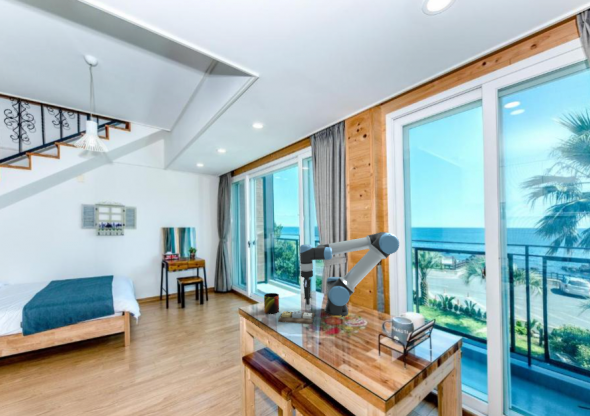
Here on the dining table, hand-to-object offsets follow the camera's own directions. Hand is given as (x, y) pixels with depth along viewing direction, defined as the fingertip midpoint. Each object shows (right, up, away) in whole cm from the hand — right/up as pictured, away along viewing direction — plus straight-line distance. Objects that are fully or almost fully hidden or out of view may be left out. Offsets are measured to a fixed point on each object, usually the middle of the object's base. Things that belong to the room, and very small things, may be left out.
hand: (308, 309), depth 160 cm
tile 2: (0, -7, 0) cm, 7 cm away
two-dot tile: (-7, -6, +1) cm, 9 cm away
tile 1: (-13, -7, +2) cm, 15 cm away
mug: (-24, -8, +15) cm, 30 cm away
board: (-7, -7, +1) cm, 10 cm away
